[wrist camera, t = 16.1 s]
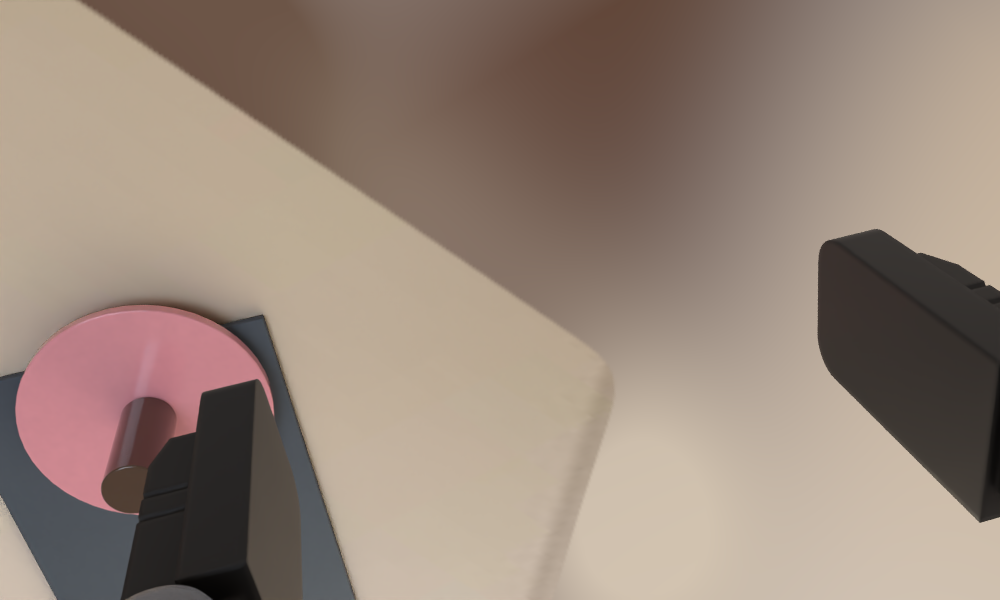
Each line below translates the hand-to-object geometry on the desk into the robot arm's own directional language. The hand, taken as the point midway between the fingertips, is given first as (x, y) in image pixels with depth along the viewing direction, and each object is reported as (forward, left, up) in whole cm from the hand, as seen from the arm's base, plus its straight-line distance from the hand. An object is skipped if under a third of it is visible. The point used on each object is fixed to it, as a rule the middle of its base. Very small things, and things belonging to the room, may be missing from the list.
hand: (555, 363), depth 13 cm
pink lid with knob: (+15, -14, -27) cm, 34 cm away
